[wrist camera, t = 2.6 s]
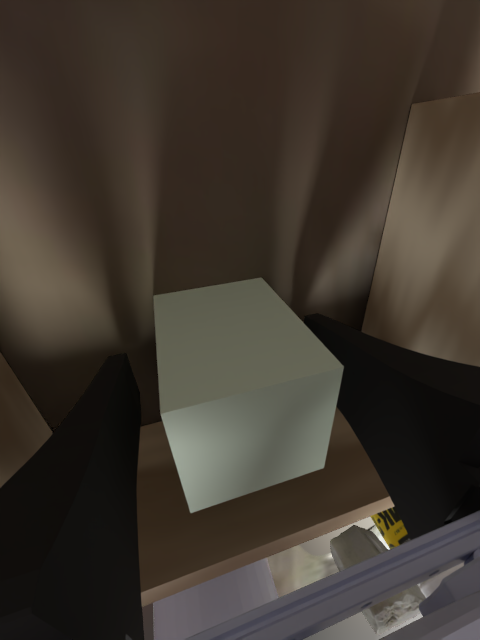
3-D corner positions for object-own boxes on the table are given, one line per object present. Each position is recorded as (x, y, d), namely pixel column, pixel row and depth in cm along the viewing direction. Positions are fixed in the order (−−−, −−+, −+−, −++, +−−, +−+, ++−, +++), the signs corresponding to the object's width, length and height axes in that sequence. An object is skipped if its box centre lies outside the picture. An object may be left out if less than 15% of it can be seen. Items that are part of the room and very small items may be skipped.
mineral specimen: (399, 520, 33) (446, 620, 26) (332, 541, 35) (361, 636, 29) (381, 510, 28) (433, 627, 22) (306, 534, 31) (334, 645, 25)
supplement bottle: (373, 462, 24) (464, 586, 17) (407, 461, 26) (501, 572, 19) (344, 495, 26) (417, 619, 19) (379, 491, 28) (455, 603, 21)
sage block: (262, 358, 14) (323, 467, 9) (173, 379, 13) (190, 513, 8) (261, 277, 12) (343, 366, 7) (153, 295, 11) (160, 414, 6)
